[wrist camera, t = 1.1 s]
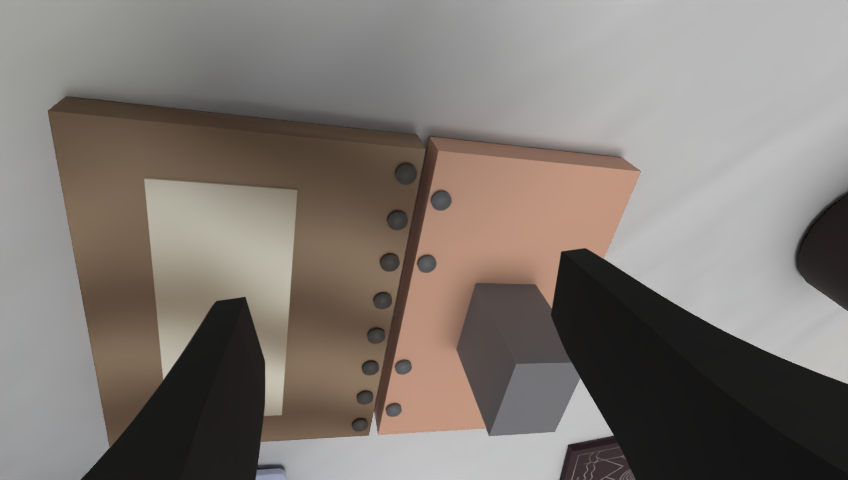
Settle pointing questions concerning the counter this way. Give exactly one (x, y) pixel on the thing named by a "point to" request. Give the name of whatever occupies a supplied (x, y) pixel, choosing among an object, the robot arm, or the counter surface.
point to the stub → (492, 286)
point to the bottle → (828, 254)
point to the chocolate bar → (596, 461)
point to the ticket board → (237, 250)
